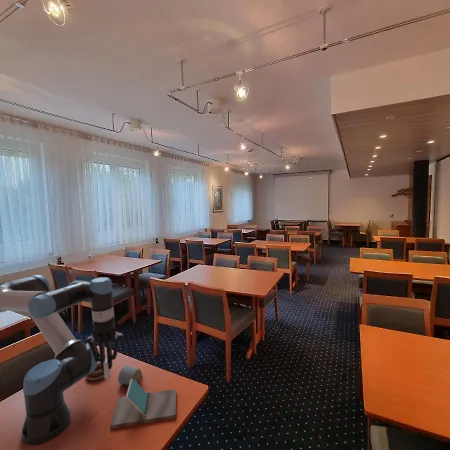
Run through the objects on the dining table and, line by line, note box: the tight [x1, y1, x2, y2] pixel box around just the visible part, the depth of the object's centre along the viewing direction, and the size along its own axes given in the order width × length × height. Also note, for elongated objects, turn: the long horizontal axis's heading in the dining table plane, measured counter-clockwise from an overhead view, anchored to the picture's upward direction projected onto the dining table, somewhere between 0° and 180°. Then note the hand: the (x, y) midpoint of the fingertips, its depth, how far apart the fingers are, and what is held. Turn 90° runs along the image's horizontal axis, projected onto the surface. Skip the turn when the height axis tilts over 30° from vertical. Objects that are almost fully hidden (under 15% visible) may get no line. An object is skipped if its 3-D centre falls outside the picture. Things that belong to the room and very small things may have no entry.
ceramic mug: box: [117, 364, 143, 386], centre depth 122 cm, size 11×8×8 cm
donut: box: [86, 362, 104, 381], centre depth 127 cm, size 11×11×4 cm
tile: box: [126, 378, 148, 415], centre depth 104 cm, size 10×10×1 cm
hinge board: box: [109, 388, 177, 430], centre depth 105 cm, size 24×14×2 cm, turn 100°
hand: (107, 376), depth 101 cm, fingers closed
